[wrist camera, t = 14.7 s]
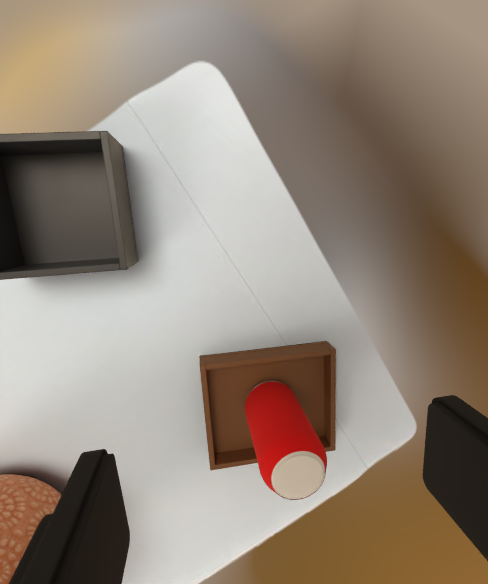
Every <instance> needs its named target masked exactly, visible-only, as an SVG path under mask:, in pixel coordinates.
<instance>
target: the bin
mask: <svg viewBox="0 0 488 584" xmlns="http://www.w3.org/2000/svg"><path fill="white" fill-rule="evenodd" d="M136 262H138V256H137V249H136V242H135V234H134V227H133V220H132V213H131V205H130V198H129V191H128V183H127V176H126V169H125V162H124V154H123V147H122V145H121V144H120V143H119V142H118V141H117V140H116V139H115V138H114V137H113V136H112V135H111V134H110V133H109V132H108V131H89V132H54V133H21V134H0V280H3V279H15V278H27V277H40V276H52V275H64V274H77V273H89V272H101V271H113V270H126V269H128V268H130V267H131V266H132V265H134V264H135V263H136Z"/></svg>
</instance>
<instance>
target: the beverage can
mask: <svg viewBox="0 0 488 584" xmlns="http://www.w3.org/2000/svg"><path fill="white" fill-rule="evenodd" d="M245 414H246V418H247V422H248V426H249V430H250V434H251V438H252V442H253V445H254V449H255V453H256V457H257V461H258V465H259V469H260V473H261V476H262V478H263V480H264V482H265V483H266V484H267V486H268V487H269V488H270V489H271V490H273V491H274V492H275V493H277V494H278V495H280V496H281V497H283V498H286V499H290V500H298V499H303V498H306V497H308V496H310V495H311V494H313V493H314V492H316V491H317V490H318V489H319V487H320V486H321V484H322V483H323V481H324V478H325V473H326V466H327V457H326V452H325V449H324V447H323V445H322V443H321V441H320V439H319V438H318V436H317V434H316V432H315V431H314V429H313V427H312V425H311V423H310V422H309V420H308V418H307V416H306V414H305V413H304V411H303V409H302V407H301V406H300V404H299V402H298V400H297V398H296V397H295V395H294V393H293V392H292V390H291V389H290V388H289V387H288V386H286V385H285V384H283V383H281V382H278V381H266V382H262V383H260V384H258V385H257V386H255V387H254V388H253V389H252V390H251V391H250V393H249V394H248V396H247V399H246V402H245Z"/></svg>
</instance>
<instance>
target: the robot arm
mask: <svg viewBox="0 0 488 584" xmlns="http://www.w3.org/2000/svg"><path fill="white" fill-rule="evenodd" d="M423 480H424V483H425V485H426V487H427V489H428V490H429V491H430V492H431V494H432V495H433V496H434V497H435V498H436V500H437V501H438V502H439V503H440V504H441V506H442V507H443V508H444V509H445V510H446V512H447V513H448V514H449V515H450V516H451V518H452V519H453V520H454V521H455V522H456V524H457V525H458V526H459V527H460V528H461V530H462V531H463V532H464V533H465V534H466V536H467V537H468V538H469V539H470V540H471V541H472V543H473V544H474V545H475V546H476V548H478V550H479V551H480V552H481V554H482V555H483V556H484V557H485V558H486V559H487V561H488V418H487V417H485V416H484V415H482V414H481V413H479V412H478V411H477V410H475V409H474V408H472V407H471V406H470V405H468V404H467V403H465V402H464V401H463V400H461V399H460V398H458V397H457V396H454V395H450V396H444V397H438V398H434V399H433V400H432V403H431V404H430V405H429V406H428V414H427V427H426V440H425V453H424V465H423ZM129 541H130V532H129V526H128V521H127V516H126V511H125V506H124V501H123V496H122V491H121V486H120V481H119V476H118V471H117V466H116V461H115V457H114V455H113V454H107V451H106V450H105V449H102V450H95V451H89V452H83V453H82V454H81V456H80V457H79V459H78V462H77V464H76V466H75V468H74V470H73V472H72V474H71V476H70V478H69V480H68V483H67V485H66V487H65V489H64V491H63V493H62V495H61V497H60V499H59V502H58V504H57V506H56V508H55V510H54V512H53V513H52V514H47V515H45V516H44V517H43V518H42V520H41V521H40V523H39V524H38V526H37V528H36V530H35V532H34V534H33V536H32V538H31V540H30V542H29V544H28V546H27V548H26V550H25V552H24V554H23V556H22V558H21V560H20V562H19V564H18V566H17V568H16V570H15V572H14V574H13V576H12V578H11V580H10V582H9V584H121V583H122V578H123V573H124V568H125V563H126V558H127V553H128V548H129Z"/></svg>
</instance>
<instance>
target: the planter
mask: <svg viewBox="0 0 488 584" xmlns="http://www.w3.org/2000/svg"><path fill="white" fill-rule="evenodd" d="M60 497H61V494H60V493H59V492H58V491H57V490H56V489H55V488H53V487H52V486H50V485H49V484H47V483H45V482H43V481H40V480H38V479H35V478H32V477H28V476H22V475H11V474H6V475H0V584H9V582H10V580H11V578H12V576H13V574H14V572H15V570H16V568H17V566H18V564H19V562H20V560H21V558H22V556H23V554H24V552H25V550H26V548H27V546H28V544H29V542H30V540H31V538H32V536H33V534H34V532H35V530H36V528H37V526H38V524H39V523H40V521H41V520H42V518H43V517H44V516H45V515H47V514H52V513H53V512H54V510H55V508H56V506H57V504H58V502H59V499H60Z"/></svg>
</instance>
